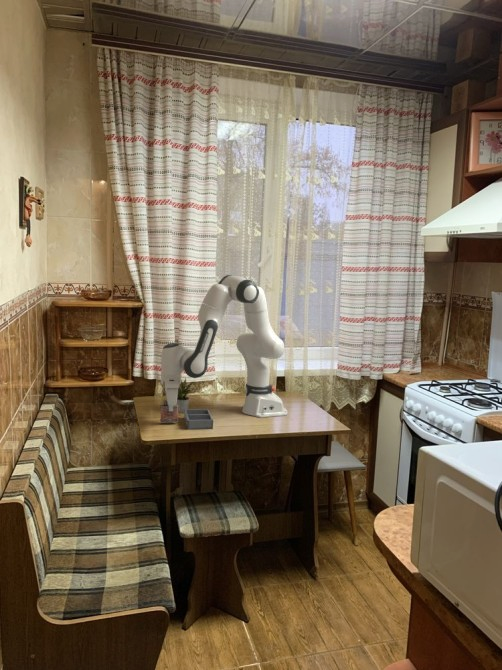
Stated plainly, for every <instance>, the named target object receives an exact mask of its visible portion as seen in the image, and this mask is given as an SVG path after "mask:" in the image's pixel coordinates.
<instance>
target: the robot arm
mask: <svg viewBox="0 0 502 670" xmlns="http://www.w3.org/2000/svg"><path fill="white" fill-rule="evenodd" d="M232 301H237V302H240V303H242V304H243V311H244V318H245V319H244V320H245V324H246V327H247V328H248V329H249V331H251V332H243V333H241V334H240V335H239V336H238V337H237V340H236V349H237V350H238V351H239V353H240V354H241V355H242V357H243V358H244V359H243V360H244V361H245V362H244V363H245V365H246V376H247V377H246V384H245V392H244V393H245V398H244V404H243V406H242V411H241V412H242V413H244V414H245V415H249V416H253V417H257V418H261V419H262V418H271V417H283V416H287V415H288V410H287V409H286V407H284V403H283V399H281V398H280V397H279V396H278V395H277V394H276V393H274V392H275V391H276V387H275V386H273V385H272V384H270V375H271V370H270V368H269V366H268V365H267V364H266V363H265V362H264V359H268V360H276V359H280V358H282V356H283V355H284V352H285V348H286V347H285V343H284V341H283V340H282V339H281V338H280V337H279V336H278V335H277V334H276V332H275V331H274V329H273V327H272V324H271V323H270V317H269V311H268V303H267V299H266V294H265V291H264V289H263V288H262V287H260V286H259V285H257V284H256V283H255V282H254V281H252V280H250V279H247V278H245V277H243V276H238V275H235V274H227V275H224V276H223V277H222V278H221V279H220V280H219V282H217V283H215V284H212V285H211V286H210V288H209V290H208V291H207V292H206V294H205V296H204V298H203V300H202V303H201V305H200V306H199V309H198V313H197V315H198V316H197V319H198V320H197V321H198V322H199V327H200V333H199V338H198V340H197V342H196V345H195V348H194V349H190V348H187V347H185V346H182V345H181V344H180V343H177V342H172V343H171V342H170V343H166V344H165V345H163V347H162V349H161V357H160V358H161V359H160V364H161V371H160V384H161V385H162V386H163V388H164V389H165V395H166V396H165V397H166V401H167V403H168V406H169V411H173V406H175V405H176V403H177V397H178V396H177V395H178V388H179V387H180V388H181V380H182V372H184V373H185V374H186V375H187V376H188V377H189V378H191V379H192V378H193V379H198V378H201V377H202V376H204V375H205V374H206V372H207V371H208V359H209V354H210V351H211V349H212V346H213V344H214V341H215V339H216V334H217V332H218V329H219V326H220V324H221V322H222V320H223V317H224V315H225V312H226V310H227V308H228V305H230V302H232ZM263 358H264V359H263Z"/></svg>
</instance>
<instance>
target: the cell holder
mask: <svg viewBox="0 0 502 670" xmlns="http://www.w3.org/2000/svg"><path fill="white" fill-rule="evenodd" d="M183 413H184V415H183V417H184V422H185V425H186V429H187V430H189V431H191V430H213V429H214V419H213V417H212V414H211V412H210V410H209V408H197V409H196V408H195V409H194V408H190V409H189V408H188V409H184V412H183Z"/></svg>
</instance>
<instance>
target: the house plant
mask: <svg viewBox="0 0 502 670" xmlns="http://www.w3.org/2000/svg"><path fill="white" fill-rule="evenodd" d="M195 382H196V380H194V381H191V383H189V384H187V378H186V377H185V379H184V380H182V379H181V383H180V387H179V388H178V395H177V403H176V404H178V413H184V409H189V404H190V397H188V394H192V393H193V394H194V395H196V392H195V391H192V390H191V389H193V387H192V385H194V384H195V385H198V383H197V382H196V383H195Z"/></svg>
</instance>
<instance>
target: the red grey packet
mask: <svg viewBox="0 0 502 670" xmlns="http://www.w3.org/2000/svg"><path fill="white" fill-rule="evenodd" d="M162 401H163V402H162V403H163V404H160V418H159V421H160V423H165V424H167V423H175V422H176V423H178V422H179V412H178V404H176V405H175V406H173V411H169V406H168V403H167V400H162Z"/></svg>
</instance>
